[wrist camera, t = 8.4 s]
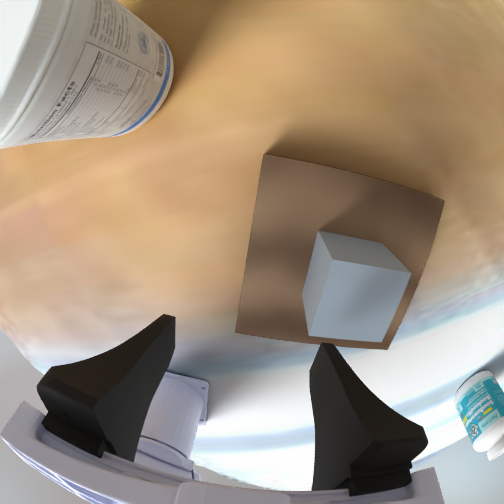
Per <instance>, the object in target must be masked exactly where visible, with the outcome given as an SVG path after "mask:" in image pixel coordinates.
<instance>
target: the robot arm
mask: <svg viewBox="0 0 504 504" xmlns="http://www.w3.org/2000/svg"><path fill="white" fill-rule="evenodd" d="M174 349H175V317H174V316H170V315H166V314H163V315H162V316H160V317H159V318H158V319H156V320H155V321H154V322H152V323H151V324H150V325H149V326H147V327H146V328H145V329H143V330H142V331H140V332H139V333H138V334H136V335H135V336H133V337H132V338H130V339H128V340H127V341H125V342H124V343H122V344H120V345H119V346H117V347H115V348H113V349H111V350H109V351H107V352H104V353H102V354H99V355H97V356H94V357H92V358H89V359H86V360H82V361H79V362H75V363H71V364H65V365H59V366H53V367H51V368H50V369H49V370H48V371H47V373H46V374H45V375H44V377H43V378H42V379H41V380H40V382H39V383H38V385H37V391H38V394H39V396H40V398H41V400H42V401H43V403H44V405H45V407H46V408H47V410H48V413H47V415H46V416H45V415H44V414H43V413H42V412H40V411H39V410H37V409H36V408H34V407H33V406H31V405H30V404H28V403H27V402H25V401H23V402H22V403H21V404H20V406H19V407H18V409H17V410H16V412H15V413H14V414H13V416H12V417H11V419H10V420H9V422H8V423H7V424H6V426H5V427H4V429H3V430H2V432H1V434H0V437H1V438H2V439H3V440H4V441H5V442H6V443H7V444H8V445H9V446H10V447H11V448H12V450H13V451H14V452H15V453H17V455H19V457H20V458H21V459H23V460H24V461H25V462H26V463H28V464H29V465H30V466H32V467H33V468H35V469H36V470H38V471H39V472H41V473H42V474H43V475H45V476H47V477H48V478H50V479H51V480H53V481H54V482H56V483H58V484H59V485H61V486H62V487H64V488H66V489H68V490H69V491H71V492H72V493H74V494H76V495H78V496H80V497H81V498H84V499H85V500H87V501H89V502H91V503H92V504H444V500H443V496H442V492H441V489H440V486H439V482H438V479H437V475H436V472H435V469H434V467H431V468H427V469H424V470H420V471H417V472H414V473H412V474H410V470H409V469H411V468H412V463H411V461H412V460H413V459H414V458H415V457H417V456H418V455H419V454H420V453H421V452H422V451H423V450H424V449H425V448H426V446H427V444H428V439H427V436H426V434H425V431H424V429H423V427H422V426H420V425H418V424H416V423H414V422H412V421H410V420H408V419H406V418H405V417H403V416H402V415H400V414H398V413H397V412H396V411H394V410H393V409H391V408H390V407H389V406H387V405H386V404H385V403H384V402H382V401H381V400H380V399H379V398H378V397H377V396H376V395H375V394H374V393H372V392H371V391H370V390H369V389H368V388H367V387H366V385H365V384H364V383H363V382H362V381H361V380H360V379H359V377H358V376H357V375H356V374H355V373H354V371H353V370H352V369H351V367H350V366H349V365H348V364H347V362H346V361H345V359H344V358H343V357H342V355H341V354H340V353H339V351H338V350H337V348H336V347H335V346H334V344H332V343H323V342H321V345H320V347H319V350H318V352H317V355H316V357H315V359H314V362H313V364H312V366H311V369H310V394H311V402H312V408H313V416H314V423H315V463H314V475H313V484H312V491H274V490H259V489H248V488H240V487H232V486H225V485H219V484H212V483H208V482H202V480H201V478H200V476H199V473H198V472H197V471H196V470H193V469H192V468H193V464H194V461H192V460H189V459H190V455H191V452H192V448H193V444H194V440H195V436H196V432H197V428H198V425H205V424H206V416H207V402H208V389H209V383H208V382H207V381H204V380H199V379H195V378H190V377H186V376H182V375H178V374H174V373H170V372H166V370H167V368H168V366H169V364H170V361H171V358H172V355H173V352H174Z"/></svg>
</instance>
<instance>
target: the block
mask: <svg viewBox="0 0 504 504" xmlns="http://www.w3.org/2000/svg"><path fill="white" fill-rule="evenodd" d="M410 276H411V272H410V271H409V270H408V269H407V268H406V267H405V266H404V265H403V264H402V263H401V262H400V261H399V260H398V259H397V258H396V257H395V256H394V255H393V254H392V253H391V252H390V251H389V250H388V249H387V248H386V247H385V246H384V245H383V244H382V243H378V242H373V241H369V240H364V239H359V238H354V237H349V236H344V235H339V234H334V233H328V232H323V231H318V232H317V237H316V241H315V245H314V249H313V253H312V257H311V261H310V265H309V269H308V273H307V277H306V280H305V284H304V288H303V292H302V298H303V303H304V309H305V316H306V322H307V328H308V334H309V336H316V337H325V338H335V339H345V340H356V341H369V342H382V340H383V338H384V336H385V334H386V332H387V330H388V328H389V326H390V323H391V321H392V319H393V317H394V315H395V312H396V310H397V308H398V305H399V303H400V301H401V298H402V296H403V294H404V291H405V289H406V286H407V284H408V281H409V278H410Z"/></svg>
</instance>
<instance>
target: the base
mask: <svg viewBox="0 0 504 504" xmlns="http://www.w3.org/2000/svg"><path fill="white" fill-rule="evenodd" d="M444 202H445V201H444V200H442V199H439V198H437V197H434V196H432V195H429V194H426V193H423V192H420V191H417V190H414V189H411V188H408V187H404V186H401V185H398V184H394V183H391V182H388V181H384V180H381V179H377V178H374V177H370V176H366V175H362V174H359V173H355V172H351V171H347V170H342V169H338V168H334V167H330V166H325V165H321V164H316V163H311V162H306V161H301V160H296V159H291V158H286V157H280V156H274V155H268V154H263V160H262V166H261V172H260V178H259V184H258V191H257V197H256V203H255V209H254V215H253V222H252V228H251V234H250V240H249V247H248V253H247V259H246V266H245V272H244V278H243V285H242V291H241V297H240V304H239V310H238V317H237V323H236V329H235V333H240V334H245V335H252V336H258V337H264V338H271V339H278V340H285V341H293V342H301V343H310V344H319V345H321V342H323V343H332V344H334V346H339V347H352V348H365V349H383V350H388V348H389V346H390V344H391V342H392V340H393V338H394V336H395V334H396V332H397V330H398V328H399V326H400V324H401V322H402V319H403V317H404V315H405V313H406V311H407V309H408V306H409V304H410V302H411V299H412V297H413V295H414V292H415V290H416V287H417V285H418V282H419V280H420V277H421V275H422V272H423V269H424V267H425V264H426V261H427V258H428V255H429V252H430V250H431V247H432V243H433V240H434V237H435V234H436V231H437V227H438V224H439V220H440V217H441V213H442V209H443V205H444ZM318 231H323V232H328V233H334V234H339V235H344V236H349V237H354V238H359V239H364V240H369V241H373V242H378V243H382V244H383V245H384V246H385V247H386V248H387V249H388V250H389V251H390V252H391V253H392V254H393V255H394V256H395V257H396V258H397V259H398V260H399V261H400V262H401V263H402V264H403V265H404V266H405V267H406V268H407V269H408V270H409V271H410V272H411V276H410V278H409V281H408V284H407V286H406V289H405V291H404V294H403V296H402V298H401V301H400V303H399V305H398V308H397V310H396V312H395V315H394V317H393V319H392V321H391V323H390V326H389V328H388V330H387V332H386V334H385V336H384V338H383V340H382V342H369V341H356V340H345V339H335V338H325V337H316V336H309V334H308V328H307V322H306V316H305V309H304V303H303V298H302V292H303V288H304V284H305V280H306V277H307V273H308V269H309V265H310V261H311V257H312V253H313V249H314V245H315V241H316V237H317V232H318Z"/></svg>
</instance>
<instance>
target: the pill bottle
mask: <svg viewBox="0 0 504 504" xmlns="http://www.w3.org/2000/svg"><path fill="white" fill-rule="evenodd" d="M454 404H455V406H456V408H457V411H458V413H459V415H460V417H461V419H462V421H463V424H464V426H465V428H466V430H467V433H468V435H469V437H470V440H471V442H472V444H473V447H474V449H475V450H476V451H478V452H483V451H486V450H487V451H488V453H487V456H488V458H489V460H490V461H491V460H493V459H495V458H497V457H498V456H500V455H501V454H503V453H504V392H503V391H502V389H501V387H500V386H499V384H498V382H497V381H496V379H495V378H494V376H493V375H492V373H491V372H490V371H481V372H479V373H477V374H475V375H473V376H472V377H471V378H469V379H468V380H467V381H466V382H465V383H464V384H463V385H462V386H461V387H460V388H459V390H458V391H457V393H456V394H455V397H454Z"/></svg>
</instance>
